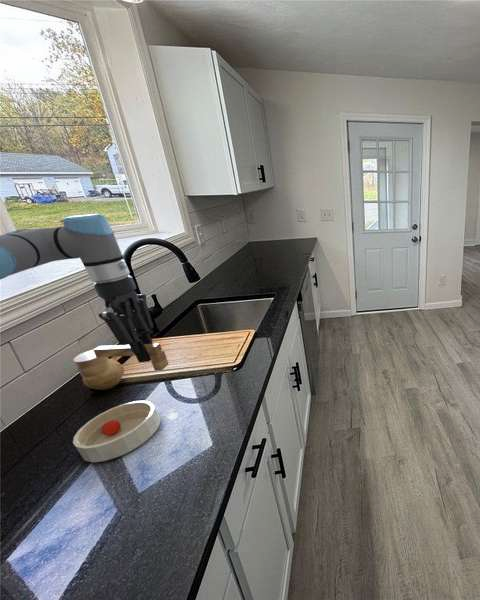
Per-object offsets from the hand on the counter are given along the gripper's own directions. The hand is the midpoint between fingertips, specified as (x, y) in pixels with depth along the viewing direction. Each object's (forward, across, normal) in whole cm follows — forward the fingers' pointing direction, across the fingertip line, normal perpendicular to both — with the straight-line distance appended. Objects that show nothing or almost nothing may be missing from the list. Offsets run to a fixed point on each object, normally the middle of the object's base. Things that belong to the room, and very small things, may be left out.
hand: (148, 358), depth 87 cm
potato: (+14, +10, +24) cm, 30 cm away
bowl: (+14, -14, +2) cm, 20 cm away
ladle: (+3, 0, +7) cm, 8 cm away
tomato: (+12, -13, +5) cm, 18 cm away
